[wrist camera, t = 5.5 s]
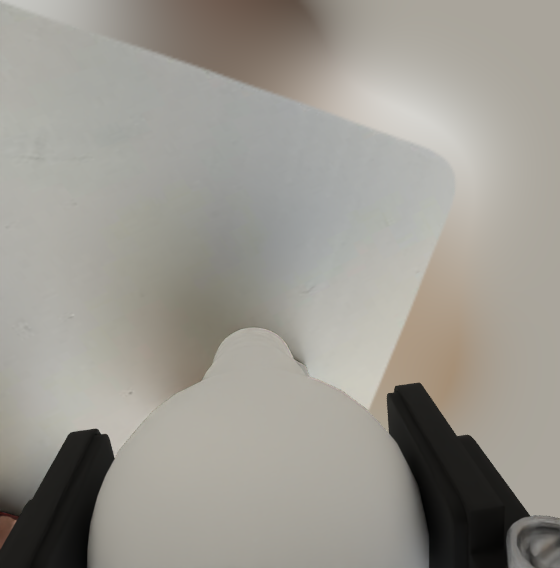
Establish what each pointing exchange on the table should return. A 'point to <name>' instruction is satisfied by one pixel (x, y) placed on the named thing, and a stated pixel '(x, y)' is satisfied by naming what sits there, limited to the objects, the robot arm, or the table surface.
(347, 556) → the lightbulb
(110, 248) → the table surface
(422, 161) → the table surface
